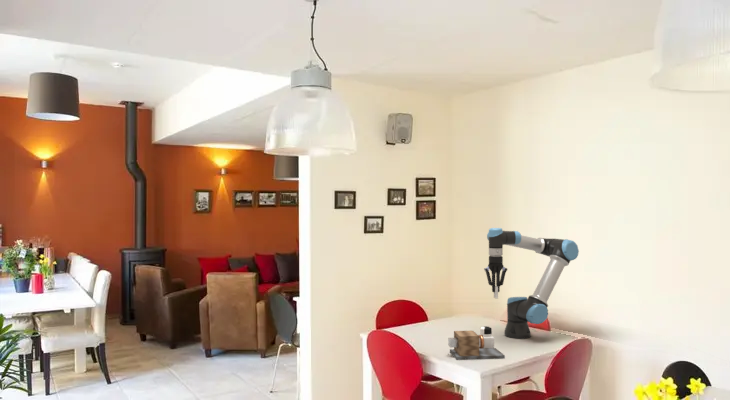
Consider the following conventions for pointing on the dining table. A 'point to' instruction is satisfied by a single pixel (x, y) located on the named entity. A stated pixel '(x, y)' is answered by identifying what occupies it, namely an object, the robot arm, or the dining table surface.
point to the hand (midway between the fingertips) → (495, 297)
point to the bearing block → (472, 347)
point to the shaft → (454, 342)
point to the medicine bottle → (487, 337)
